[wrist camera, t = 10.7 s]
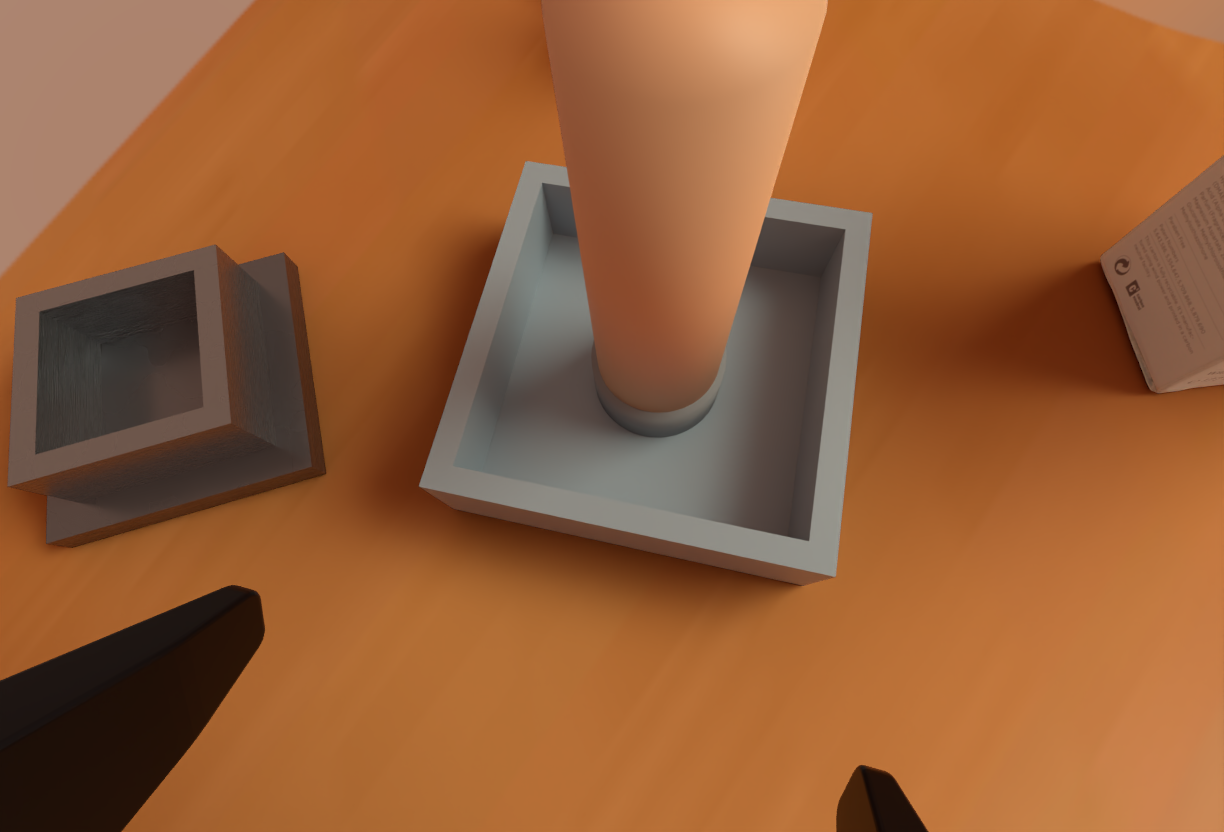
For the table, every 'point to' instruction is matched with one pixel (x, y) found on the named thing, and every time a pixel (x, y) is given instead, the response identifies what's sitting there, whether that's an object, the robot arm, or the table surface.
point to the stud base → (161, 392)
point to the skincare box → (1175, 286)
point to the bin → (676, 465)
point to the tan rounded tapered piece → (672, 179)
